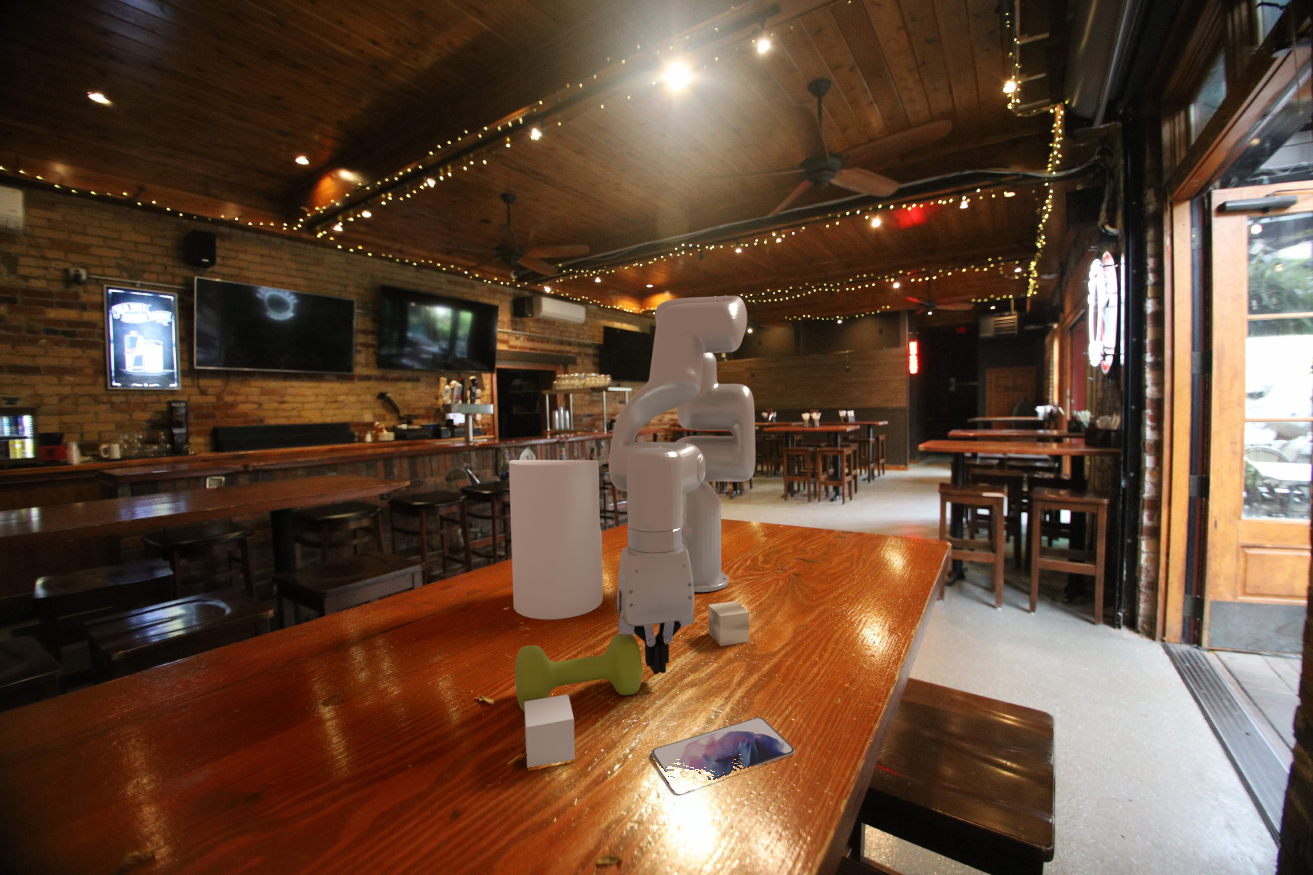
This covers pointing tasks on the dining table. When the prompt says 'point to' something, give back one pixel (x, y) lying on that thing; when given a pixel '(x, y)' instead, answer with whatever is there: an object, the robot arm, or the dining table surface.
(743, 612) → the maple block
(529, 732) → the grey block
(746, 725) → the smartphone
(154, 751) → the dining table surface
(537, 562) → the cylinder
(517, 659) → the dumbbell
